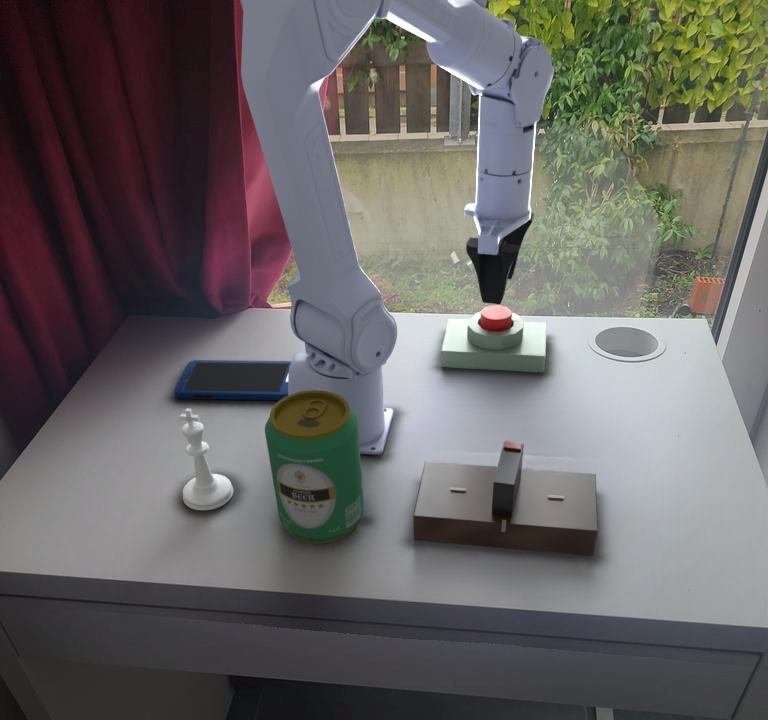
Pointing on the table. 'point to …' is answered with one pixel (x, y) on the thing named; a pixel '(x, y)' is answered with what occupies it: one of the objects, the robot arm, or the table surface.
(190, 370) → the cell phone
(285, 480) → the beverage can
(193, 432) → the chess piece
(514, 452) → the dark grey rectangular block
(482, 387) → the table surface
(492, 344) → the button box
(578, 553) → the panel
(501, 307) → the button
